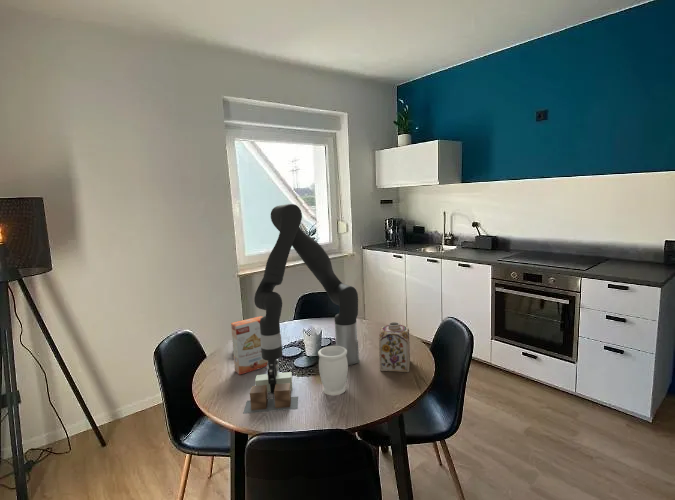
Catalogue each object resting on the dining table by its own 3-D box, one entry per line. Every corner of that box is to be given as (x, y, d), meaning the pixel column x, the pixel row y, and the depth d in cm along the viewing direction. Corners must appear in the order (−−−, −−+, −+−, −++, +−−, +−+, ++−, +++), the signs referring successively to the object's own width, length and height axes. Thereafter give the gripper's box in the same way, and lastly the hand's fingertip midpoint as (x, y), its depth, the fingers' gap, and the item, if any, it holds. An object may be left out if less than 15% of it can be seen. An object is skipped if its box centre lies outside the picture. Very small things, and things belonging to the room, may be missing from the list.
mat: (298, 397, 133) (298, 396, 133) (297, 409, 125) (297, 408, 125) (247, 401, 132) (246, 400, 132) (242, 414, 124) (242, 413, 124)
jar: (339, 400, 130) (336, 359, 127) (314, 393, 135) (312, 353, 133) (354, 387, 138) (352, 348, 136) (330, 380, 144) (328, 343, 142)
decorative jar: (409, 373, 147) (408, 329, 145) (379, 371, 150) (378, 328, 147) (410, 360, 159) (409, 319, 156) (382, 358, 161) (381, 318, 159)
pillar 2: (291, 399, 131) (290, 383, 130) (290, 407, 126) (289, 390, 125) (276, 400, 131) (275, 384, 130) (275, 408, 126) (274, 391, 125)
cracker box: (239, 375, 152) (235, 326, 149) (234, 370, 157) (230, 322, 154) (271, 365, 160) (267, 318, 157) (265, 361, 165) (261, 315, 162)
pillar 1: (268, 401, 131) (266, 384, 130) (266, 408, 126) (265, 392, 125) (253, 402, 130) (252, 386, 130) (251, 410, 125) (249, 393, 125)
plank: (292, 385, 142) (291, 371, 141) (292, 391, 138) (291, 377, 137) (257, 388, 141) (256, 375, 140) (256, 395, 136) (255, 380, 136)
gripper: (280, 351, 130) (283, 397, 132) (283, 336, 144) (286, 378, 147) (258, 353, 130) (261, 399, 132) (263, 338, 144) (266, 379, 146)
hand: (274, 388), depth 139 cm, fingers open, 5 cm apart
